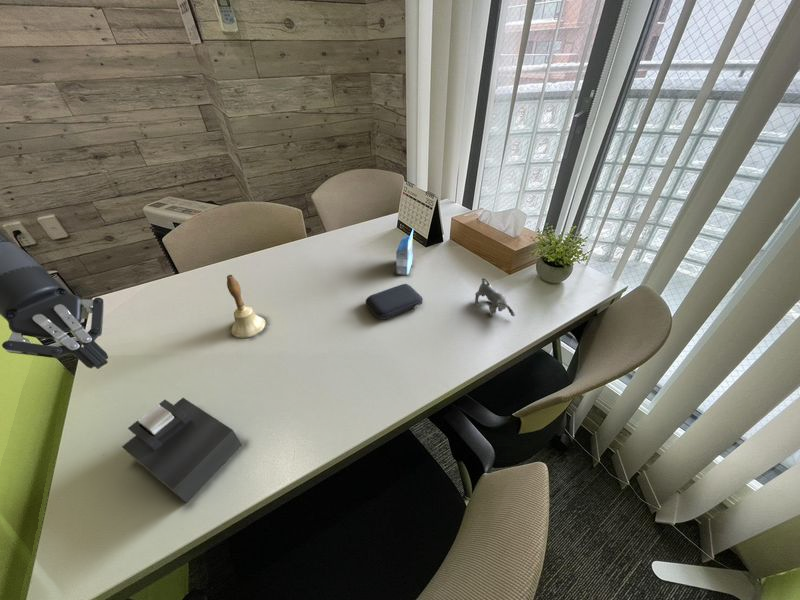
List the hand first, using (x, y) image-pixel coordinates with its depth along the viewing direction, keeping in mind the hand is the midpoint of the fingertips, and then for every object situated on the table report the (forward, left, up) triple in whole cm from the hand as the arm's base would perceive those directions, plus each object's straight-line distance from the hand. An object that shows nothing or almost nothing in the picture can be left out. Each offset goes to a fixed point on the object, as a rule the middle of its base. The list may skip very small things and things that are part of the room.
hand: (102, 364), depth 51 cm
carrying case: (+55, +20, -19) cm, 62 cm away
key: (+4, -4, -12) cm, 13 cm away
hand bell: (+16, +24, -19) cm, 35 cm away
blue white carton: (+64, +38, -19) cm, 77 cm away
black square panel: (+7, -8, -18) cm, 21 cm away
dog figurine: (+80, +10, -19) cm, 83 cm away
